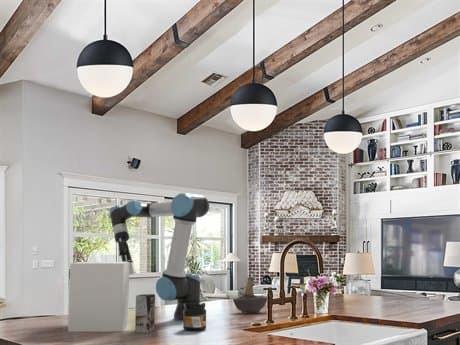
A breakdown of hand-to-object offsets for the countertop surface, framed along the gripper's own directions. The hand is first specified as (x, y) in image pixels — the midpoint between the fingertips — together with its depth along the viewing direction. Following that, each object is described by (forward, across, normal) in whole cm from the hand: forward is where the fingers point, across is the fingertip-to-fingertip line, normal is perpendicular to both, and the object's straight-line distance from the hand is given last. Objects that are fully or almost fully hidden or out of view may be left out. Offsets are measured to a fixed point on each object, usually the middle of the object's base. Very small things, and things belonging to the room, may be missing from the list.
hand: (128, 270), depth 326 cm
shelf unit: (+32, +28, -14) cm, 45 cm away
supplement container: (+45, +29, +28) cm, 61 cm away
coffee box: (+41, +35, +8) cm, 55 cm away
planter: (+31, -39, +56) cm, 74 cm away
